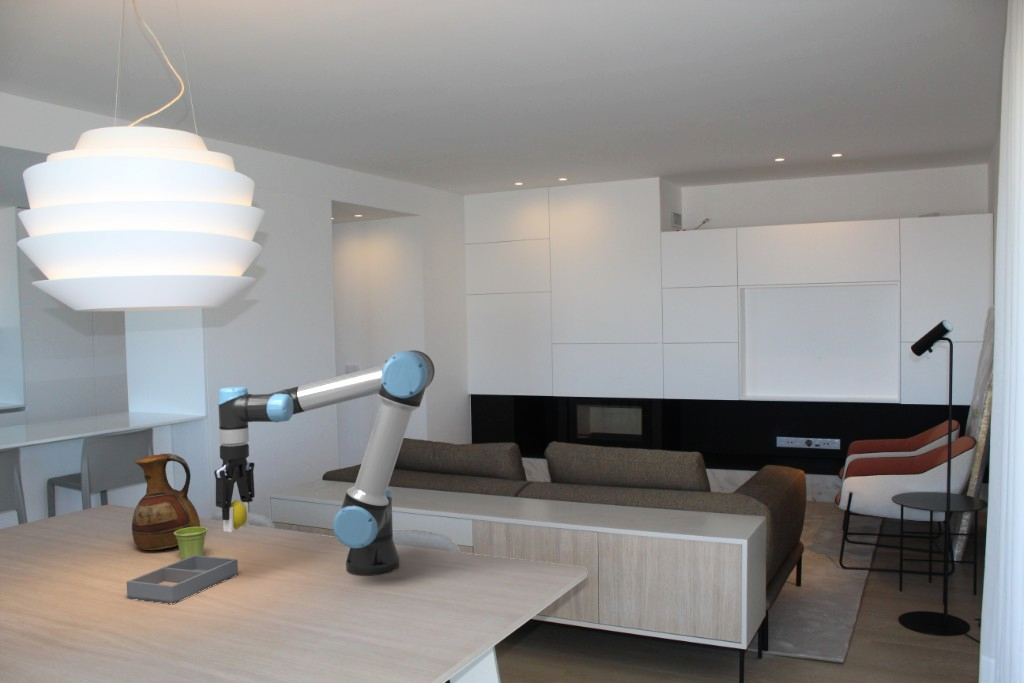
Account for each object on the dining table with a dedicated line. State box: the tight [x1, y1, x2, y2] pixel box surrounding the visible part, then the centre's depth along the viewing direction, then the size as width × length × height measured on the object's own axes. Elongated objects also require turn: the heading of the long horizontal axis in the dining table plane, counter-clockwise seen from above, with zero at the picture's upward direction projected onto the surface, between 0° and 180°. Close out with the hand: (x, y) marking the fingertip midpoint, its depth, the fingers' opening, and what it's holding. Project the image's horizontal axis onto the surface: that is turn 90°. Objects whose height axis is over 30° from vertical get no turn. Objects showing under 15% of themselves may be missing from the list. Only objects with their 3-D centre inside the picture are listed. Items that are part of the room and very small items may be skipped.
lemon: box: [231, 500, 247, 530], centre depth 223 cm, size 6×6×8 cm
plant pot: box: [174, 526, 208, 561], centre depth 247 cm, size 9×9×9 cm
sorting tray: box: [126, 555, 239, 605], centre depth 221 cm, size 15×25×4 cm, turn 159°
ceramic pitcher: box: [131, 453, 201, 551], centre depth 262 cm, size 20×20×30 cm
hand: (236, 528), depth 223 cm, fingers closed on lemon, 5 cm apart
